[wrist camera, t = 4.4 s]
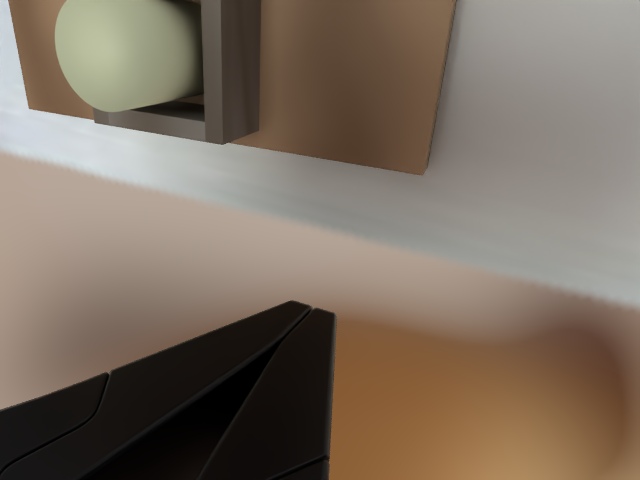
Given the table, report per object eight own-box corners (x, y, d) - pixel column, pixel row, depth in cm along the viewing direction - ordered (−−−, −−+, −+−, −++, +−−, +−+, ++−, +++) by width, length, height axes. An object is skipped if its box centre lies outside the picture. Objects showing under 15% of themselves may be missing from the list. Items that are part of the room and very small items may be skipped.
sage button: (226, 2, 17) (142, -7, 13) (227, 100, 18) (151, 119, 14) (146, -3, 18) (46, -14, 14) (153, 90, 19) (64, 104, 15)
